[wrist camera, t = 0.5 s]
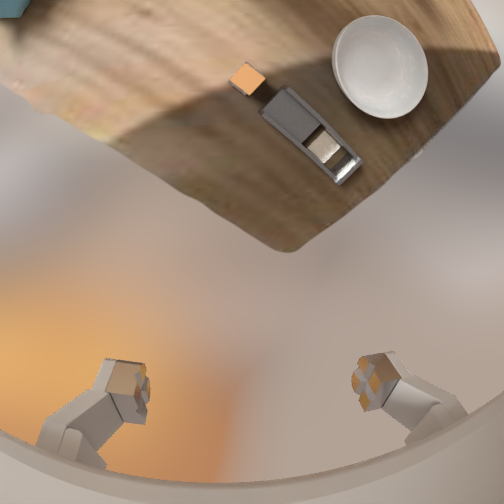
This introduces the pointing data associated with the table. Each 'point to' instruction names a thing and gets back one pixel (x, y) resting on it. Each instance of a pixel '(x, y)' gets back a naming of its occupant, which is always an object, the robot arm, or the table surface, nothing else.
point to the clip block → (247, 79)
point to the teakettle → (12, 8)
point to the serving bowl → (380, 66)
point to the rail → (309, 132)
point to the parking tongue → (236, 85)
